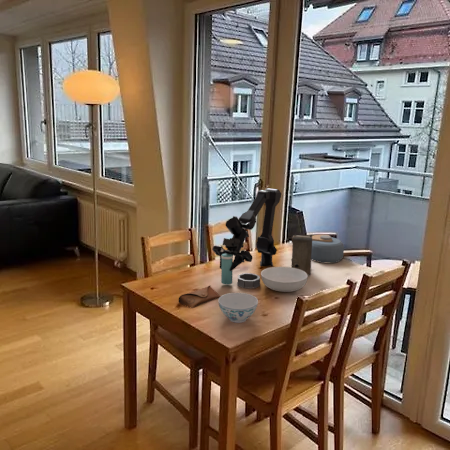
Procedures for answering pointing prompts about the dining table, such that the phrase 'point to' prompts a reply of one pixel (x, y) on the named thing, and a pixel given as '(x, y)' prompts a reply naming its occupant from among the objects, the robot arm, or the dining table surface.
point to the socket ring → (248, 280)
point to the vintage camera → (302, 253)
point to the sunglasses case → (198, 297)
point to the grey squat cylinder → (326, 249)
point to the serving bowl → (284, 278)
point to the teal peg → (226, 268)
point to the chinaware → (238, 306)
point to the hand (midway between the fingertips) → (225, 269)
